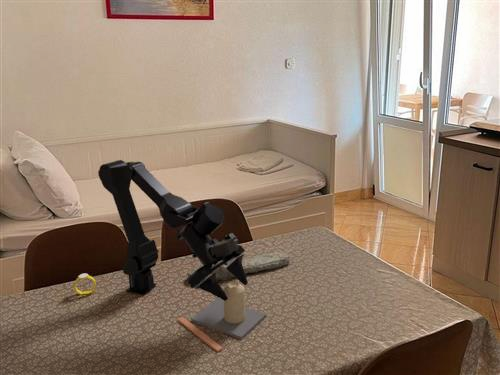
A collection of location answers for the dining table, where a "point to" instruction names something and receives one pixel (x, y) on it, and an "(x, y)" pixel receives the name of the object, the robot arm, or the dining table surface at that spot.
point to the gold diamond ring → (82, 277)
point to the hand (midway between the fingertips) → (236, 291)
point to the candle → (234, 303)
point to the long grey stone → (251, 265)
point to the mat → (215, 320)
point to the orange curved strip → (200, 334)
